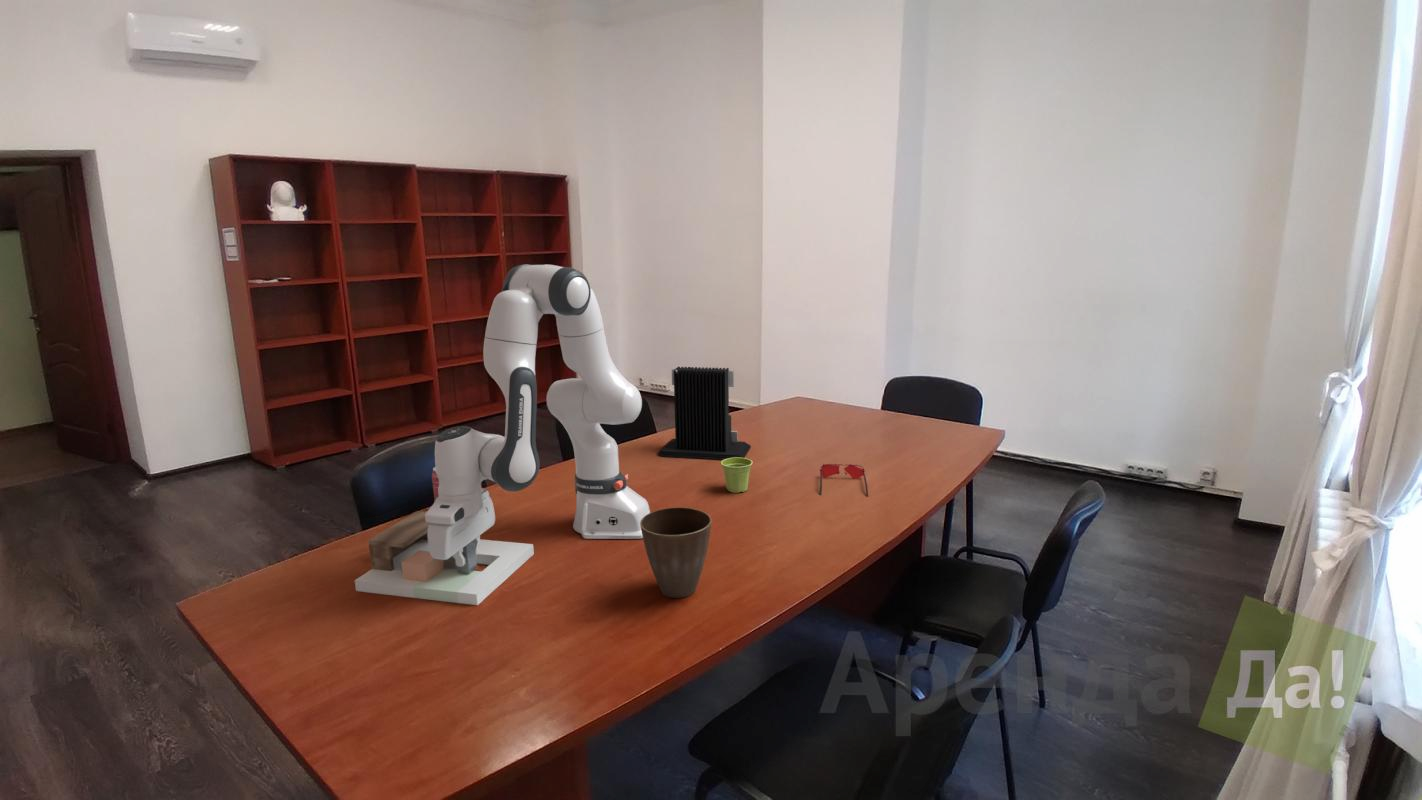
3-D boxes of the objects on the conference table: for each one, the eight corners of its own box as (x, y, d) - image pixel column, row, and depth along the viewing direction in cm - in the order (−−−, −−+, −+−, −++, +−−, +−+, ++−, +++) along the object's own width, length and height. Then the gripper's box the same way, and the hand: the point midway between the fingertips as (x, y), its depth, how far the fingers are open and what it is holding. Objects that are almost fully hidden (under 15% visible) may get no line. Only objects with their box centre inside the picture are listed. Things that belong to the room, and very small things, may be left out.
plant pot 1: (687, 614, 144) (685, 540, 141) (628, 596, 152) (625, 525, 148) (725, 584, 157) (724, 515, 153) (669, 568, 164) (667, 502, 161)
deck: (533, 553, 173) (533, 544, 172) (477, 605, 149) (476, 594, 149) (426, 543, 180) (425, 534, 179) (356, 590, 156) (354, 580, 156)
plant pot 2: (716, 493, 211) (716, 465, 210) (727, 482, 220) (727, 455, 218) (746, 497, 208) (746, 468, 206) (756, 486, 216) (756, 458, 215)
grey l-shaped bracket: (477, 567, 160) (473, 533, 158) (459, 581, 154) (454, 546, 152) (422, 561, 164) (417, 529, 162) (402, 575, 158) (397, 541, 156)
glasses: (864, 479, 223) (865, 463, 222) (868, 498, 207) (869, 481, 206) (819, 477, 225) (819, 462, 223) (819, 496, 209) (819, 480, 208)
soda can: (454, 517, 196) (449, 472, 193) (430, 515, 198) (425, 471, 195) (468, 508, 203) (463, 464, 200) (445, 506, 204) (440, 462, 201)
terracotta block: (444, 569, 160) (442, 553, 159) (426, 582, 154) (424, 565, 153) (421, 566, 162) (419, 550, 161) (403, 578, 156) (401, 561, 155)
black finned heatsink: (752, 446, 258) (751, 363, 251) (742, 462, 240) (741, 374, 233) (670, 441, 265) (668, 361, 258) (655, 457, 247) (652, 371, 240)
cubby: (452, 540, 175) (449, 513, 174) (406, 572, 159) (403, 543, 157) (420, 537, 177) (417, 510, 176) (371, 569, 161) (368, 540, 159)
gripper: (474, 484, 166) (480, 540, 169) (419, 518, 147) (426, 580, 150) (499, 486, 164) (504, 542, 168) (446, 520, 145) (453, 583, 148)
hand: (467, 560), depth 159 cm, fingers closed on grey l-shaped bracket, 3 cm apart
